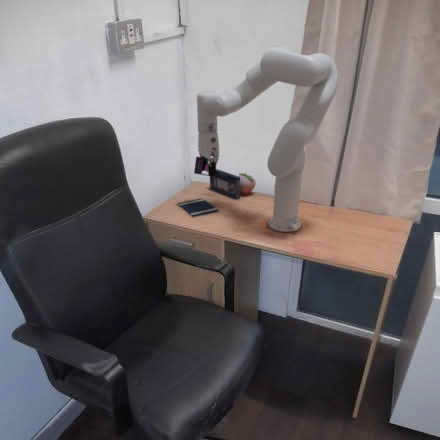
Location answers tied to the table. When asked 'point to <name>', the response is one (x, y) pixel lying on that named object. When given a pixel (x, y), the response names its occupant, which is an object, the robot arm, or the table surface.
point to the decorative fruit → (246, 183)
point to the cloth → (197, 207)
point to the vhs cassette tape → (225, 184)
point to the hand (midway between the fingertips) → (208, 172)
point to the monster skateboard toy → (201, 165)
